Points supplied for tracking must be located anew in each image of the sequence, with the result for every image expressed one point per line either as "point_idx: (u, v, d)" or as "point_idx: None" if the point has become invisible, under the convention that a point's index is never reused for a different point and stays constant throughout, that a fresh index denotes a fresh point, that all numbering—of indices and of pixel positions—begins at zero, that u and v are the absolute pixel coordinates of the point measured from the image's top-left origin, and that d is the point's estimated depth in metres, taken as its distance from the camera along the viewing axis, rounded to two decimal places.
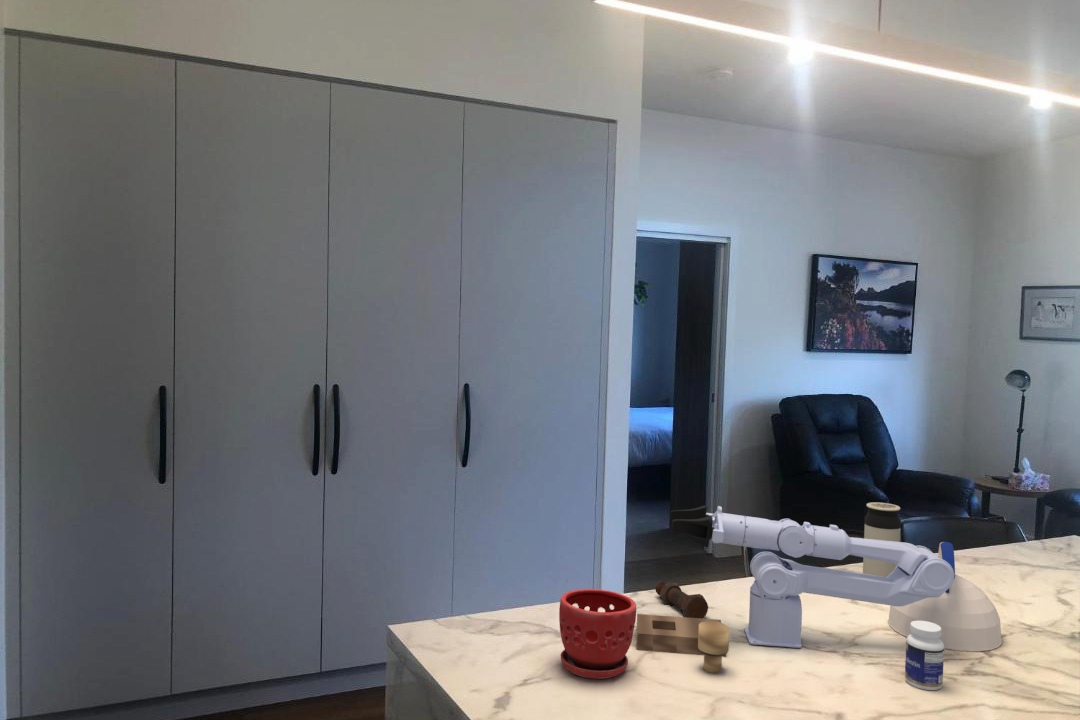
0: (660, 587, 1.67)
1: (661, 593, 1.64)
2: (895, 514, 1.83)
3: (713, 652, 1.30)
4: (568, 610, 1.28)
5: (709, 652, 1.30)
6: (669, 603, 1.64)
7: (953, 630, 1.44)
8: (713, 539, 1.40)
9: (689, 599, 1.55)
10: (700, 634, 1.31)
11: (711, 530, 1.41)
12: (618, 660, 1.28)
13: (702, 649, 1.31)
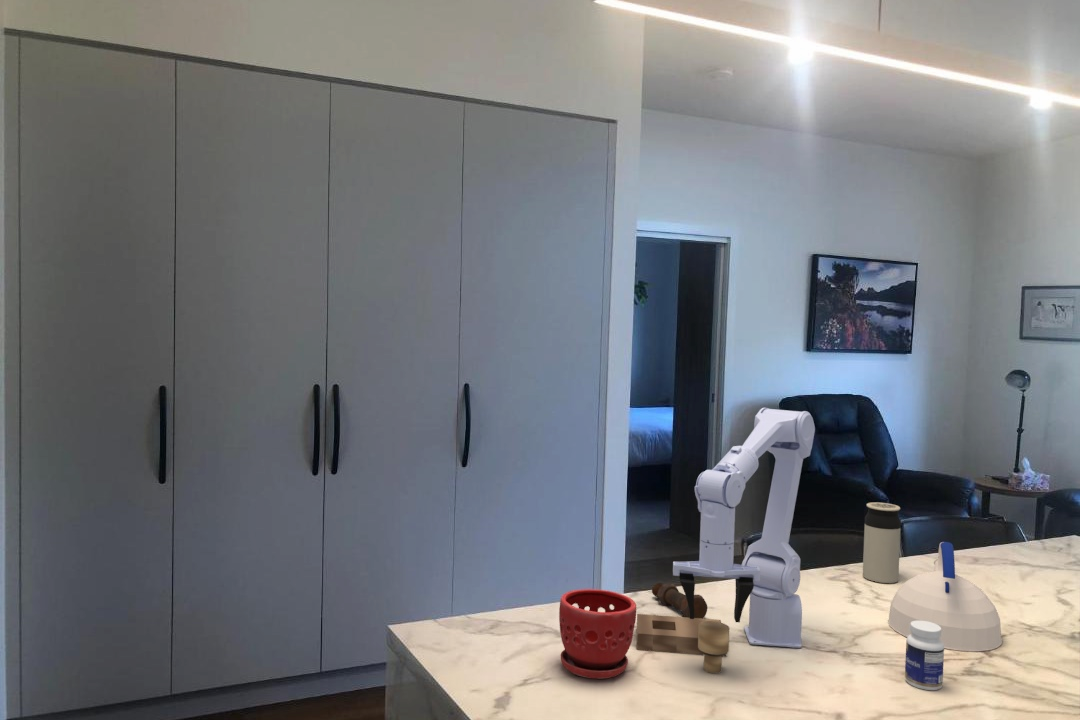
0: (657, 588, 1.66)
1: (658, 594, 1.64)
2: (895, 514, 1.83)
3: (713, 652, 1.30)
4: (568, 610, 1.28)
5: (709, 652, 1.30)
6: (666, 604, 1.63)
7: (953, 630, 1.44)
8: None
9: None
10: (700, 634, 1.31)
11: (752, 581, 1.30)
12: (618, 660, 1.28)
13: (702, 649, 1.31)
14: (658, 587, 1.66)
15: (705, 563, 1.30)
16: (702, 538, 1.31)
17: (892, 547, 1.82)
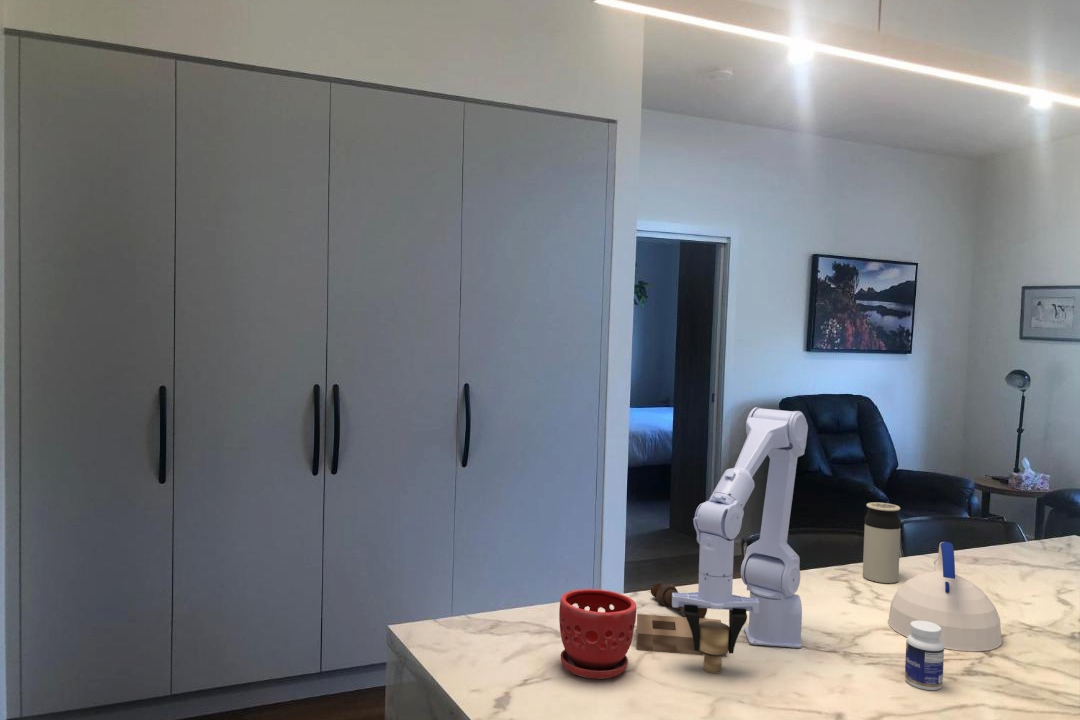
0: (656, 589, 1.66)
1: (658, 595, 1.63)
2: (895, 514, 1.83)
3: (713, 652, 1.30)
4: (568, 610, 1.28)
5: (709, 652, 1.30)
6: (666, 605, 1.63)
7: (953, 630, 1.44)
8: None
9: None
10: (700, 634, 1.31)
11: None
12: (618, 660, 1.28)
13: (702, 649, 1.31)
14: (657, 588, 1.66)
15: (704, 595, 1.30)
16: (701, 570, 1.31)
17: (892, 547, 1.82)
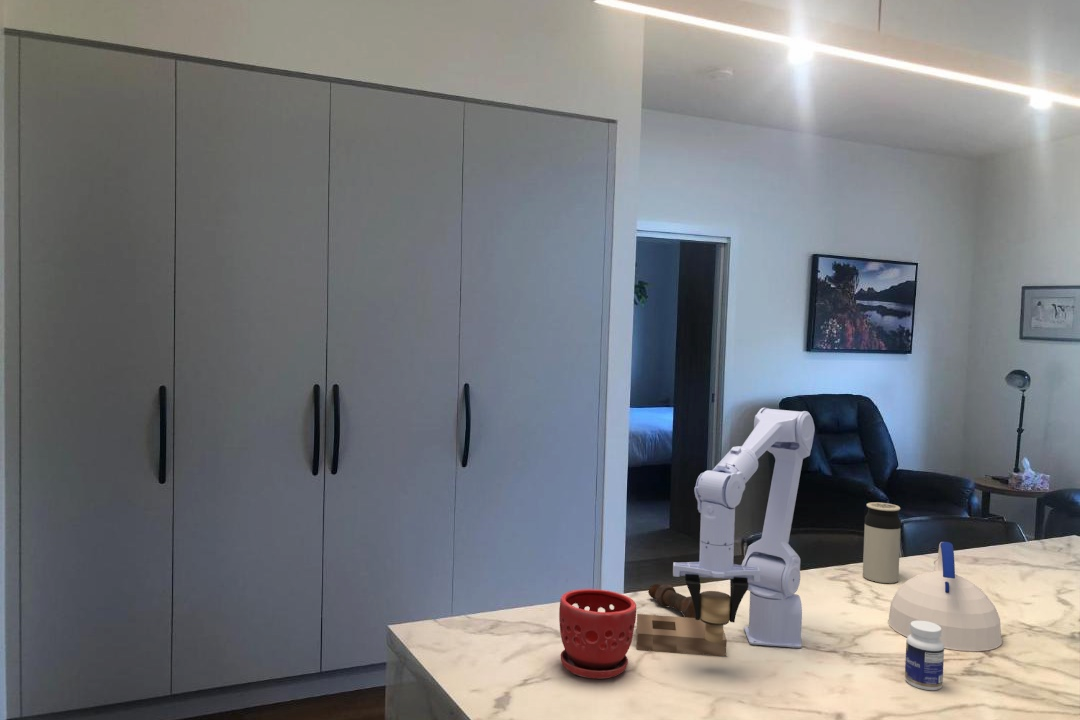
0: (654, 589, 1.65)
1: (656, 595, 1.63)
2: (895, 514, 1.83)
3: (714, 621, 1.29)
4: (568, 610, 1.28)
5: (710, 621, 1.30)
6: (664, 605, 1.62)
7: (953, 630, 1.44)
8: None
9: (689, 601, 1.54)
10: (701, 603, 1.31)
11: None
12: (618, 660, 1.28)
13: (703, 618, 1.30)
14: (655, 588, 1.65)
15: (705, 564, 1.30)
16: (702, 539, 1.31)
17: (892, 547, 1.82)
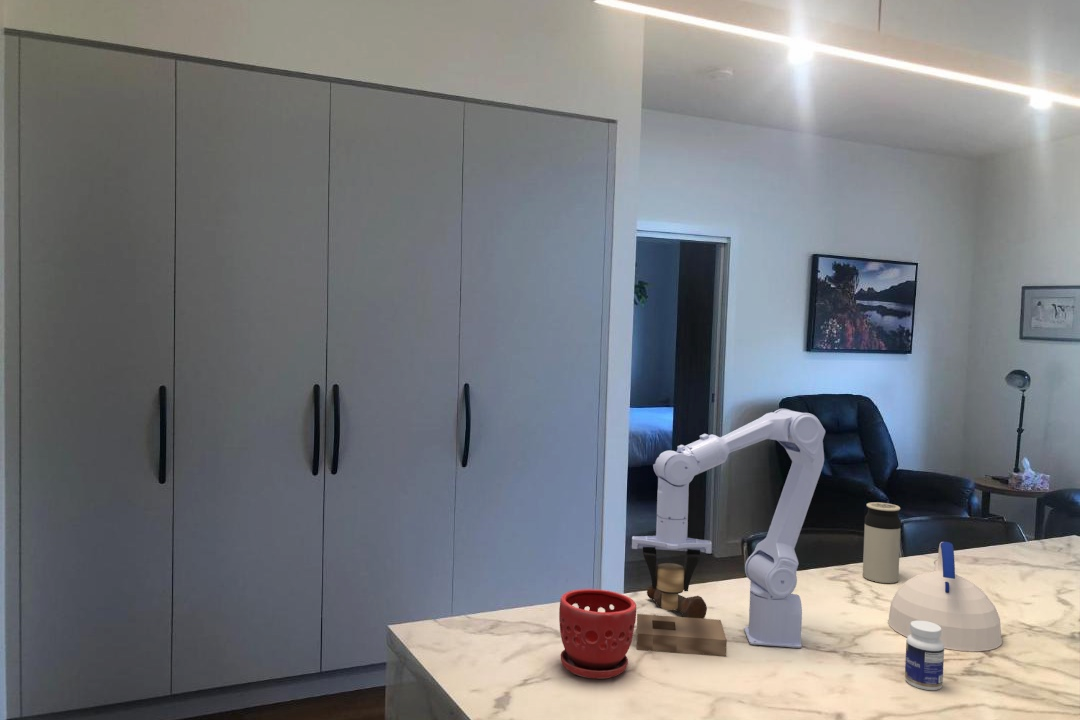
0: (652, 590, 1.65)
1: (655, 596, 1.62)
2: (895, 514, 1.83)
3: (670, 590, 1.40)
4: (568, 610, 1.28)
5: (666, 590, 1.40)
6: None
7: (953, 630, 1.44)
8: None
9: (689, 602, 1.53)
10: (658, 574, 1.41)
11: (699, 553, 1.41)
12: (618, 660, 1.28)
13: (660, 588, 1.41)
14: (654, 589, 1.65)
15: (661, 537, 1.40)
16: None
17: (892, 547, 1.82)
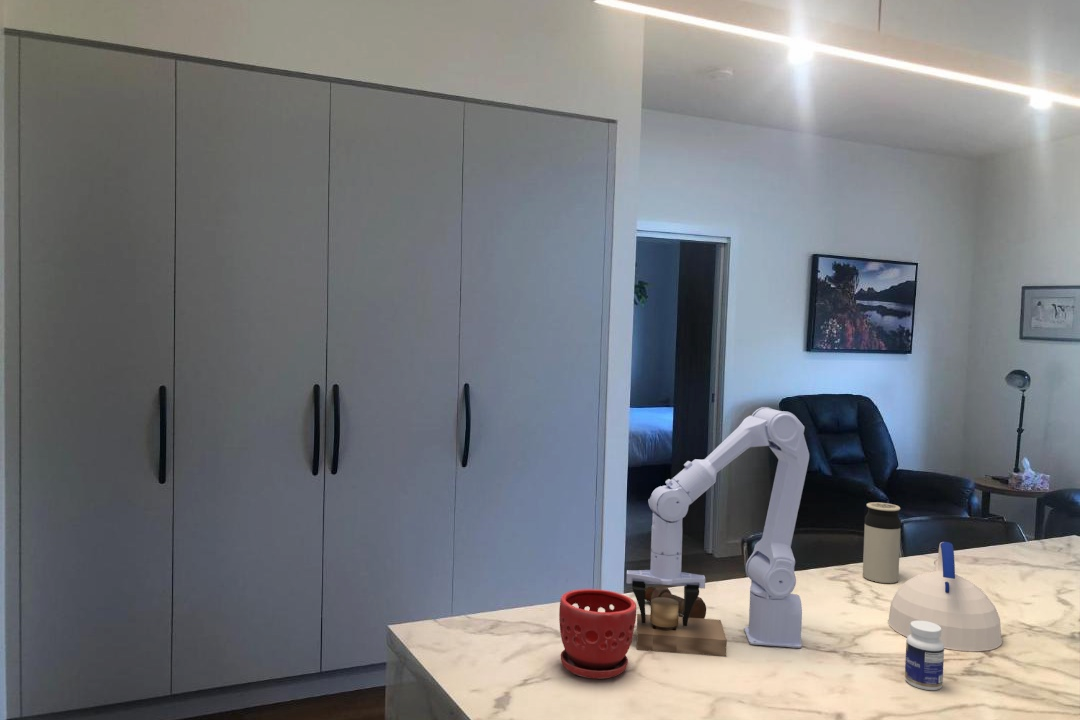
0: (649, 592, 1.64)
1: (652, 598, 1.61)
2: (895, 514, 1.83)
3: (664, 625, 1.41)
4: (568, 610, 1.28)
5: (660, 625, 1.41)
6: None
7: (953, 630, 1.44)
8: None
9: None
10: (652, 609, 1.43)
11: (698, 588, 1.42)
12: (618, 660, 1.28)
13: (654, 623, 1.42)
14: (650, 591, 1.63)
15: (655, 572, 1.42)
16: None
17: (892, 547, 1.82)
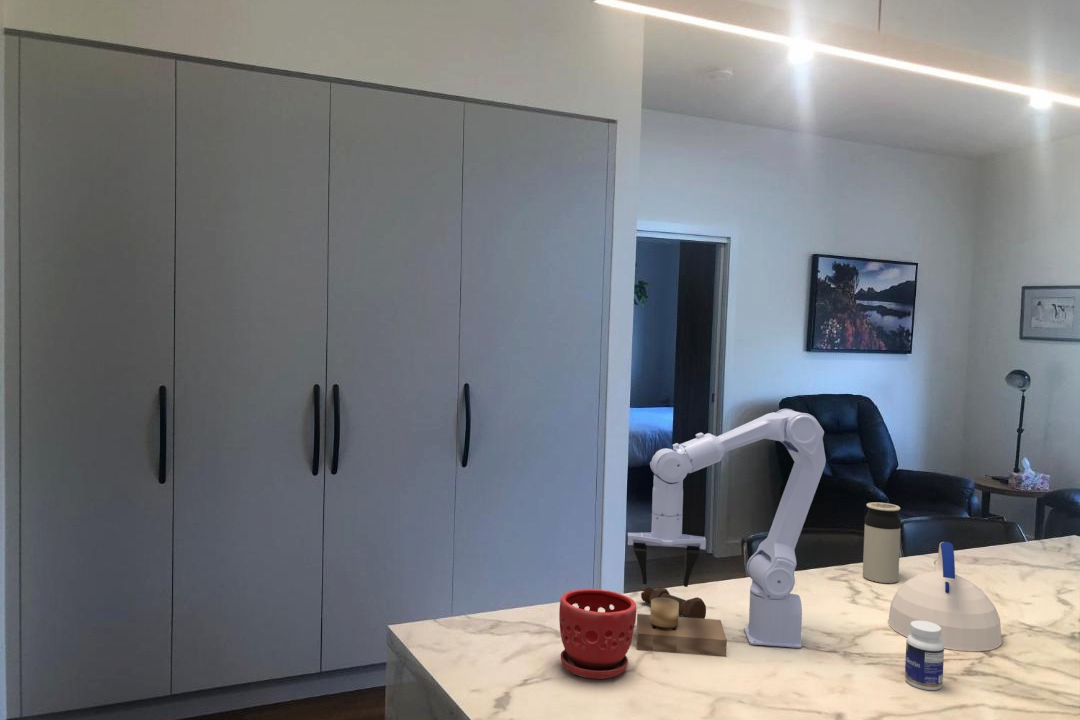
0: (647, 593, 1.63)
1: None
2: (895, 514, 1.83)
3: (664, 625, 1.41)
4: (568, 610, 1.28)
5: (660, 625, 1.41)
6: None
7: (953, 630, 1.44)
8: None
9: (690, 604, 1.52)
10: (652, 609, 1.43)
11: (699, 549, 1.44)
12: (618, 660, 1.28)
13: (654, 623, 1.42)
14: (648, 592, 1.63)
15: (656, 533, 1.43)
16: None
17: (892, 547, 1.82)
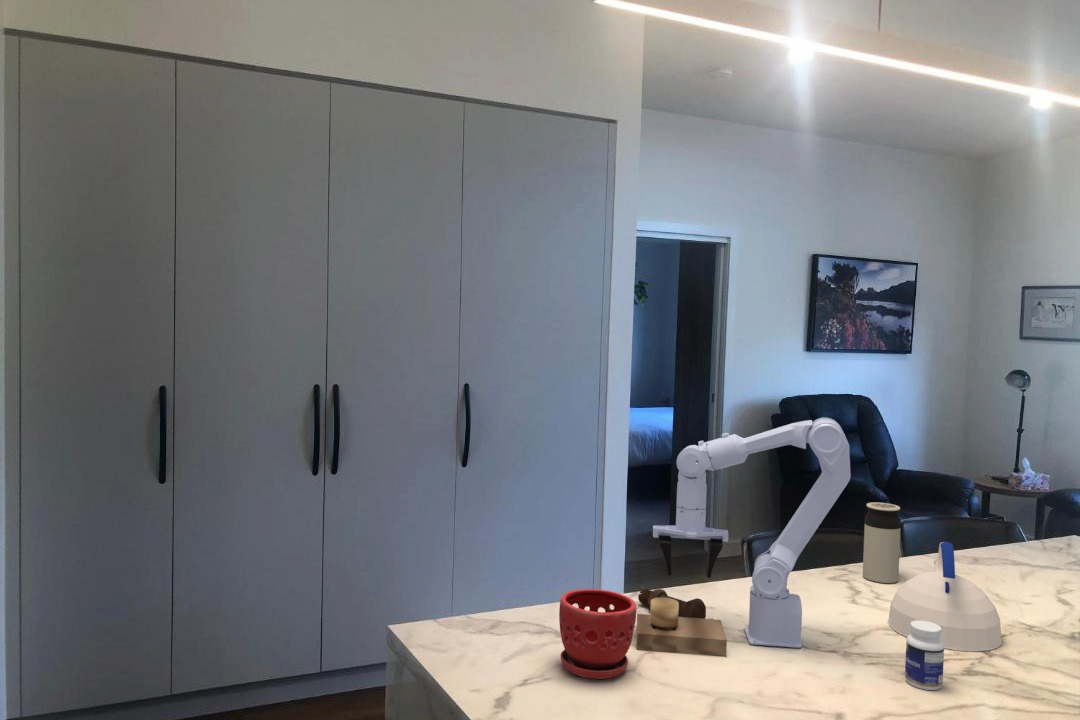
0: (645, 595, 1.62)
1: (650, 601, 1.59)
2: (895, 514, 1.83)
3: (664, 625, 1.41)
4: (568, 610, 1.28)
5: (660, 625, 1.41)
6: None
7: (953, 630, 1.44)
8: None
9: (691, 605, 1.51)
10: (652, 609, 1.43)
11: (721, 542, 1.49)
12: (618, 660, 1.28)
13: (654, 623, 1.42)
14: (646, 594, 1.61)
15: (680, 526, 1.49)
16: None
17: (892, 547, 1.82)
